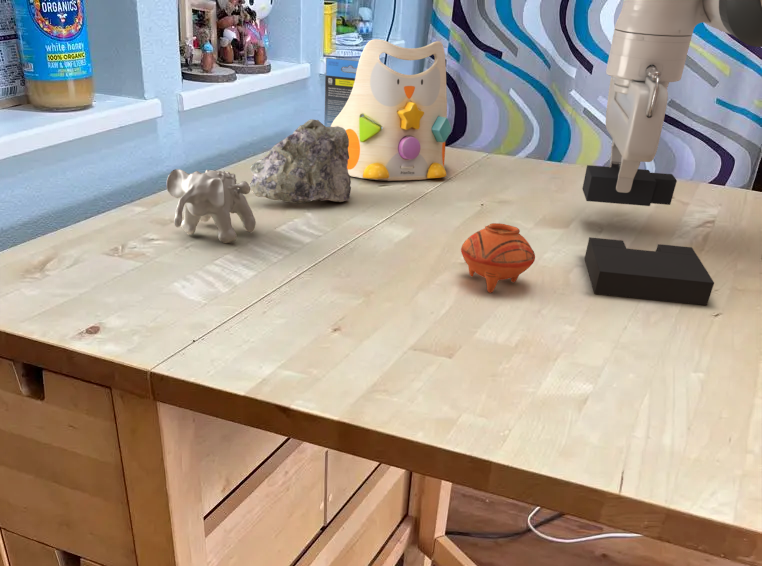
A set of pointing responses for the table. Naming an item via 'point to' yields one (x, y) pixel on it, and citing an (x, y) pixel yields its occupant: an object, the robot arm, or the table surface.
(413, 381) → the table surface
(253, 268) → the table surface
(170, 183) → the gray elephant figurine
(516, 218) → the table surface
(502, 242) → the pot
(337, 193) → the mineral rock
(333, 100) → the tape cartridge
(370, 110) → the shape sorter
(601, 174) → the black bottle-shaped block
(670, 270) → the black notched square block
